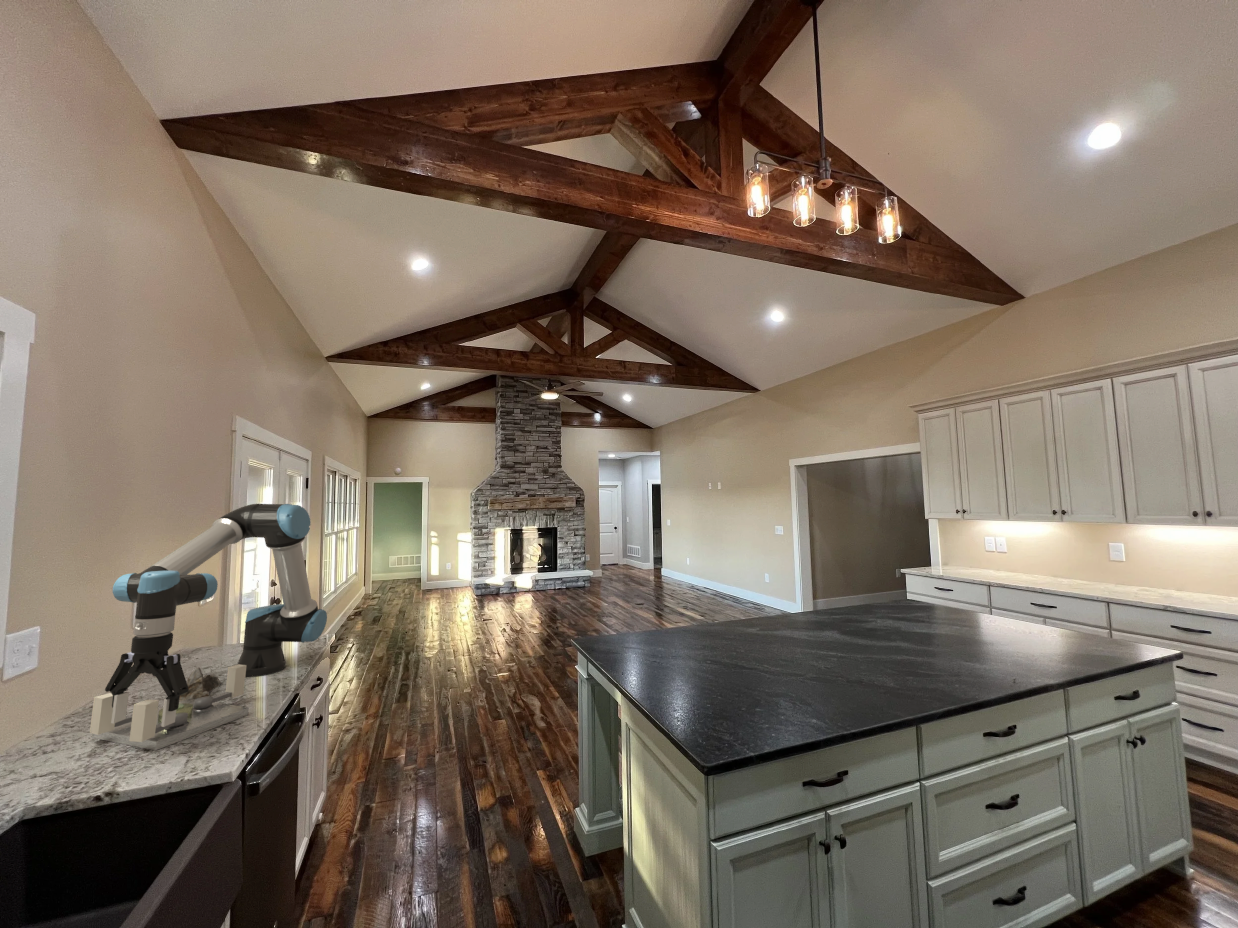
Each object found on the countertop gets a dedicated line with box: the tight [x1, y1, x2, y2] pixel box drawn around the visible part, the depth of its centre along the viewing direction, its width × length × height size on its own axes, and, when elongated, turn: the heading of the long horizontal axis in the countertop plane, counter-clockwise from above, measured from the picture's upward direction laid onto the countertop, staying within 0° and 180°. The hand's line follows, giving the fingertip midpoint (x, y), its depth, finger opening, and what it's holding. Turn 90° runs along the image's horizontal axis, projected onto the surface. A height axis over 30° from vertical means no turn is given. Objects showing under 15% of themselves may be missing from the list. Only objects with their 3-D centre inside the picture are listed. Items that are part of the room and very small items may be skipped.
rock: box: [179, 667, 222, 702], centre depth 159 cm, size 18×11×10 cm, turn 15°
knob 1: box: [89, 692, 133, 735], centre depth 130 cm, size 13×4×9 cm, turn 163°
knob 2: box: [129, 699, 188, 742], centre depth 127 cm, size 13×4×9 cm, turn 176°
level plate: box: [91, 698, 249, 751], centre depth 135 cm, size 23×23×6 cm
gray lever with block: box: [194, 663, 246, 709], centre depth 147 cm, size 13×4×9 cm, turn 165°
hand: (143, 722), depth 122 cm, fingers open, 13 cm apart
